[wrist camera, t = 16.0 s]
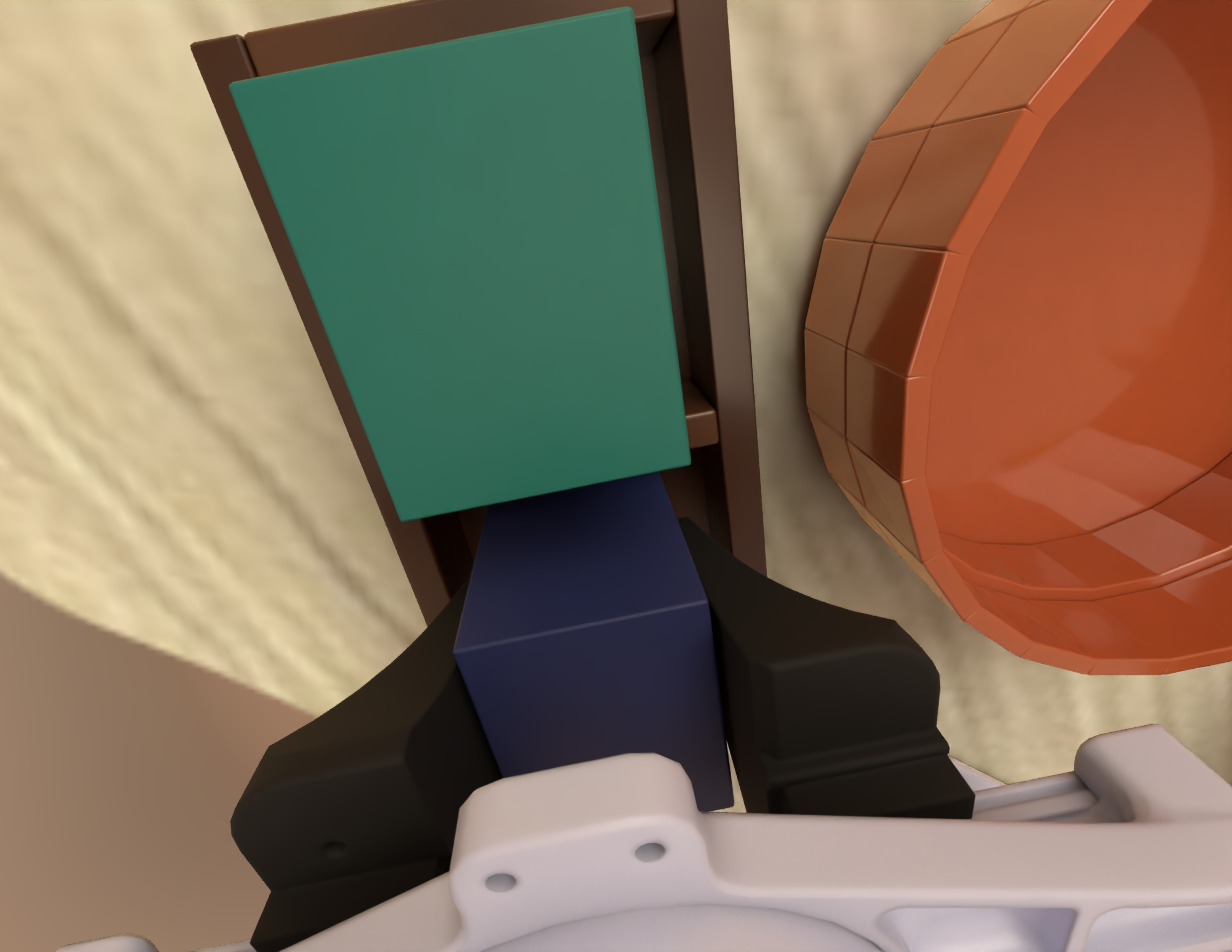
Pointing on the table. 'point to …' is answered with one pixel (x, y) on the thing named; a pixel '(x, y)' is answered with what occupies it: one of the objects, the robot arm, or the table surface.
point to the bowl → (1046, 332)
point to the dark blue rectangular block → (593, 636)
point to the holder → (691, 229)
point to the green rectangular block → (484, 256)
